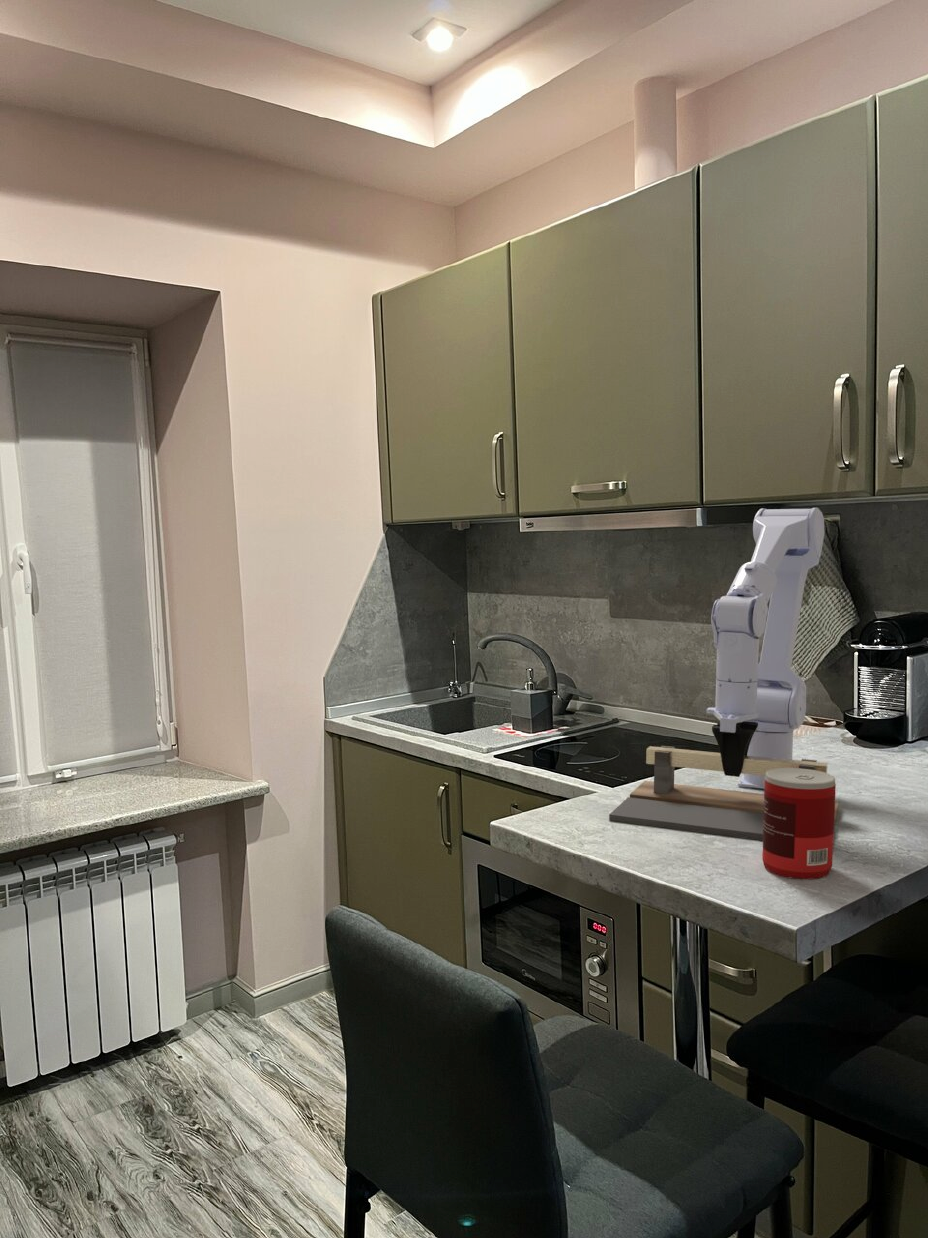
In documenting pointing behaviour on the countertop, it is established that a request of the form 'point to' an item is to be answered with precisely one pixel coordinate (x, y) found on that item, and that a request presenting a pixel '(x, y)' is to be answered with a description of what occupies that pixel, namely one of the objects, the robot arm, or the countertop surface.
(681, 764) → the rail
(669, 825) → the mat
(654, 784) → the rack
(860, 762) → the countertop surface
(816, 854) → the canned food
